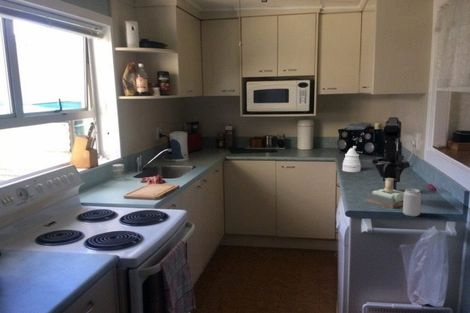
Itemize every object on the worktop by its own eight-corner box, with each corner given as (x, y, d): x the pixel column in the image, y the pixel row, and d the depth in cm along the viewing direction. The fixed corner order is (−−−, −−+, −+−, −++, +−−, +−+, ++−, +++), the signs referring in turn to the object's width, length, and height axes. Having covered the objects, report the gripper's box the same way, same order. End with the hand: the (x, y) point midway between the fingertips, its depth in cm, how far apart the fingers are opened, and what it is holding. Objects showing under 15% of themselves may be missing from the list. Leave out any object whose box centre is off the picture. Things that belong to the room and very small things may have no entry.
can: (415, 211, 182) (416, 187, 180) (423, 216, 174) (424, 191, 172) (399, 212, 181) (401, 188, 179) (407, 217, 174) (408, 192, 172)
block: (386, 195, 206) (386, 187, 205) (405, 199, 196) (405, 192, 196) (372, 198, 200) (372, 191, 199) (391, 203, 190) (391, 195, 190)
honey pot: (358, 168, 286) (358, 145, 283) (362, 171, 273) (363, 147, 270) (341, 168, 287) (341, 145, 284) (344, 172, 275) (344, 147, 272)
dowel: (387, 195, 201) (388, 177, 199) (394, 197, 197) (395, 178, 196) (383, 197, 199) (383, 178, 197) (389, 198, 195) (390, 180, 194)
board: (390, 195, 211) (390, 187, 211) (416, 201, 198) (417, 193, 197) (366, 201, 201) (366, 192, 200) (392, 208, 188) (392, 199, 187)
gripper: (417, 149, 190) (415, 179, 192) (385, 145, 206) (384, 173, 208) (403, 151, 184) (401, 182, 187) (371, 147, 200) (370, 176, 203)
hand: (389, 178), depth 196 cm, fingers open, 9 cm apart
